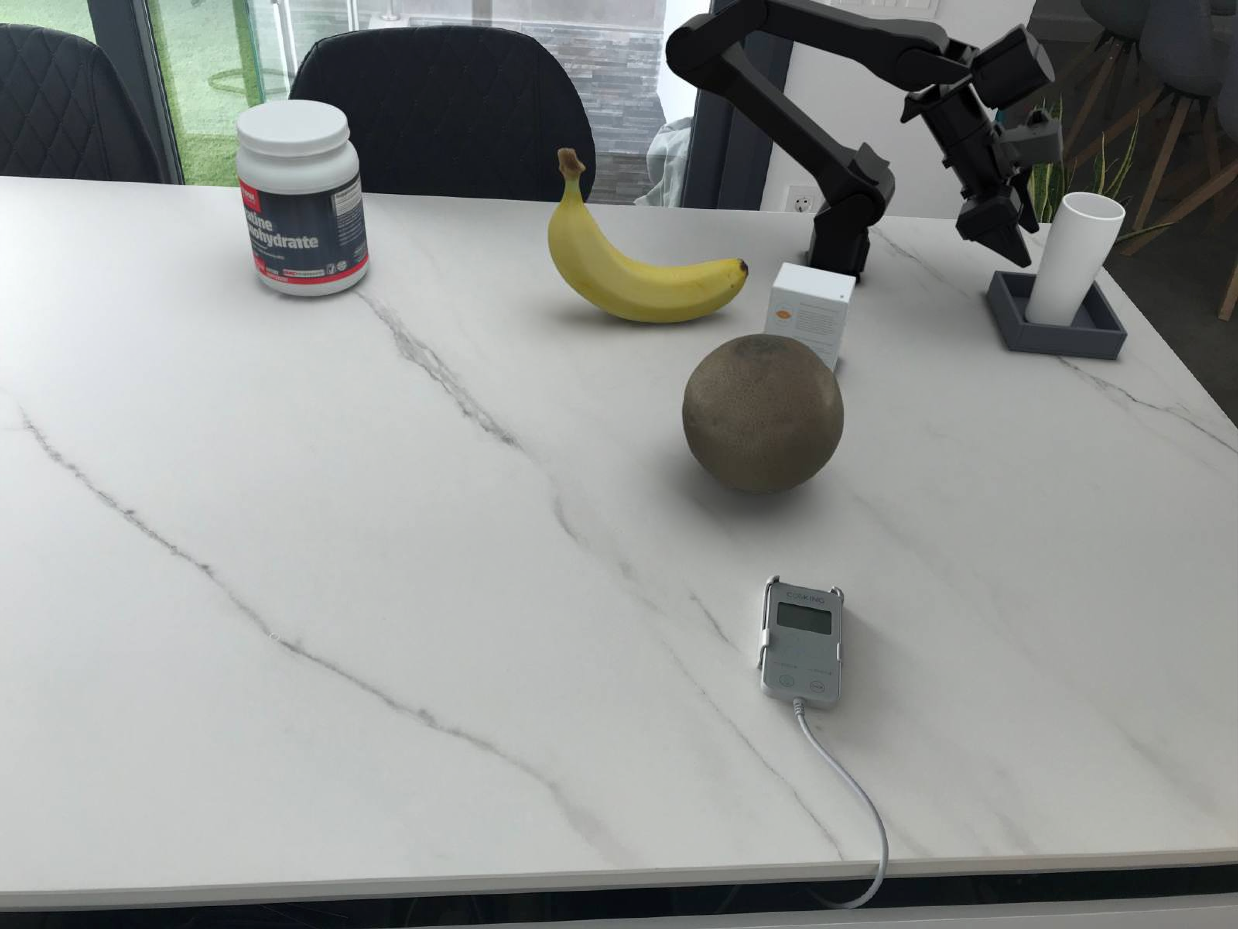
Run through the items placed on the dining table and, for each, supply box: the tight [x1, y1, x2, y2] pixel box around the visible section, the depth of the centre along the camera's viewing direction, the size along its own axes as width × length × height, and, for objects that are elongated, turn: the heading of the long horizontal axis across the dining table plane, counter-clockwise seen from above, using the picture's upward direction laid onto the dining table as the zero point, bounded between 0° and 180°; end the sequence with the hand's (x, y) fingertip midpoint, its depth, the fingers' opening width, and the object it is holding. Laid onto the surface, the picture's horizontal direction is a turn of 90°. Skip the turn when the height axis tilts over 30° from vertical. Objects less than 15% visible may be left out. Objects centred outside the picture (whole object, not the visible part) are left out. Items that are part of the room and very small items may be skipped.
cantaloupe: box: [681, 333, 845, 494], centre depth 87 cm, size 14×14×15 cm
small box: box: [763, 261, 856, 374], centre depth 103 cm, size 8×6×10 cm
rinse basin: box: [986, 270, 1129, 361], centre depth 115 cm, size 12×12×4 cm
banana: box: [547, 147, 750, 324], centre depth 106 cm, size 23×6×20 cm, turn 97°
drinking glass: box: [1025, 191, 1126, 326], centre depth 111 cm, size 7×7×15 cm
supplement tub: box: [235, 99, 370, 297], centre depth 109 cm, size 13×13×18 cm
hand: (1031, 248), depth 112 cm, fingers open, 9 cm apart
